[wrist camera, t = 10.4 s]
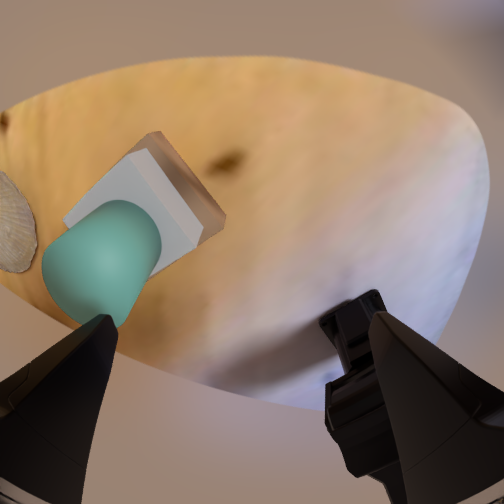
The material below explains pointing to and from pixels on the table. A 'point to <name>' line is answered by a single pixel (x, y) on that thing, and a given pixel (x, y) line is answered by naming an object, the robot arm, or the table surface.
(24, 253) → the seashell
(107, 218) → the teal cylinder
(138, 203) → the grey block
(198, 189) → the walnut base
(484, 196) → the table surface
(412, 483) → the robot arm
